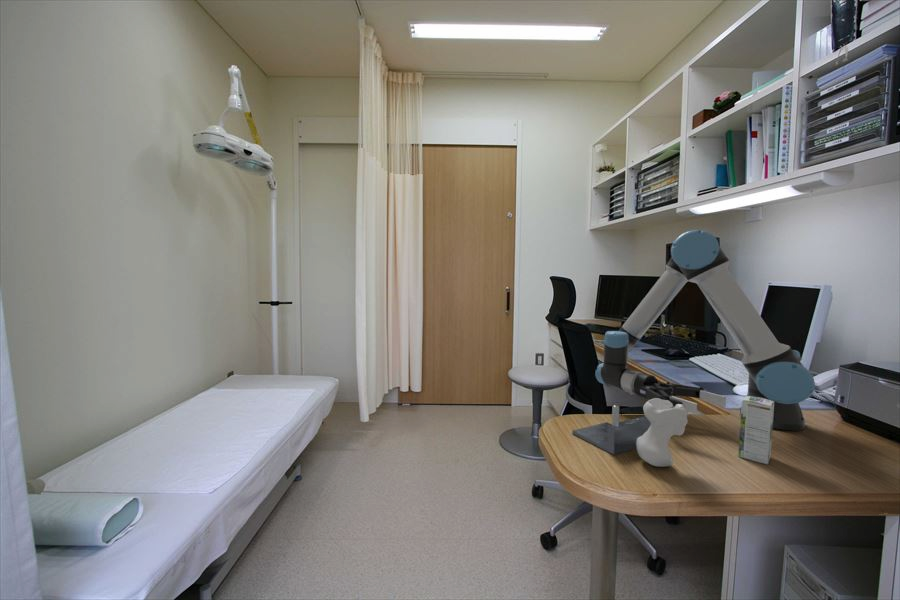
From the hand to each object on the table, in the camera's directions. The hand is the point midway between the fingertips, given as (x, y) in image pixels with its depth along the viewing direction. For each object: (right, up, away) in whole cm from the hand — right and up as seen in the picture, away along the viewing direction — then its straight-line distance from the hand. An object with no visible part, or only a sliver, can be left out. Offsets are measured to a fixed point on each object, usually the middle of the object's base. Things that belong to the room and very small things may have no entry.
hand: (711, 405), depth 98 cm
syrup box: (+5, -11, -9) cm, 14 cm away
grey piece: (-27, -10, +2) cm, 29 cm away
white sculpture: (-21, -11, -12) cm, 26 cm away
